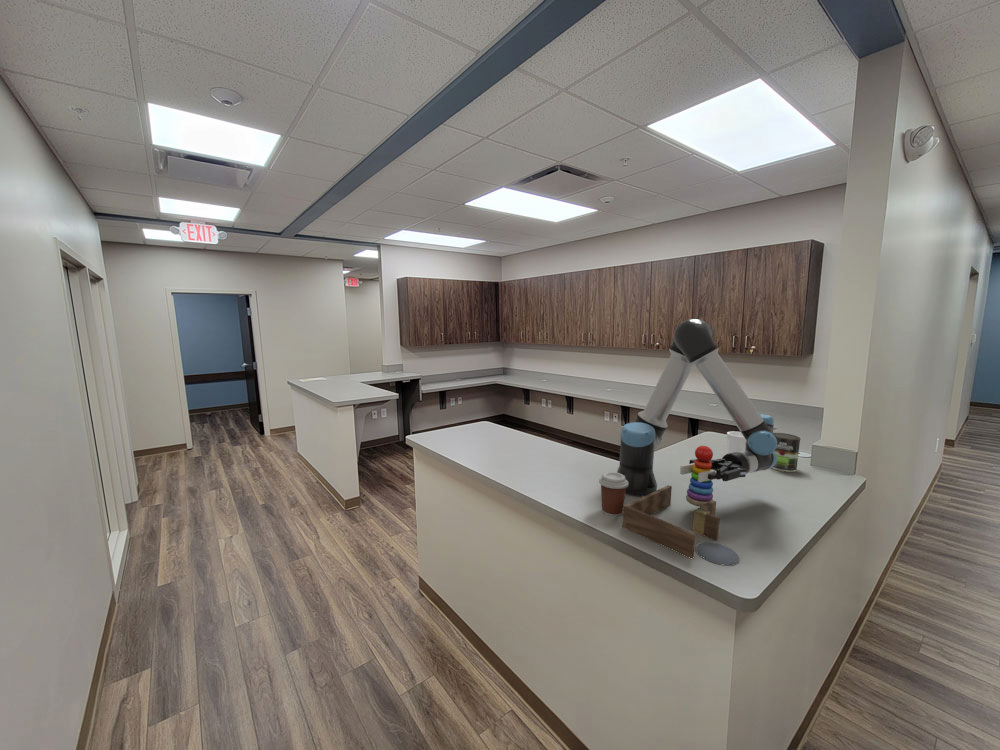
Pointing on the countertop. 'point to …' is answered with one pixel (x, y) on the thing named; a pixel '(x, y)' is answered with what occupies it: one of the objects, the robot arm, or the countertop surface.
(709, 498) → the stacking toy
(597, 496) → the countertop surface
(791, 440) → the coffee can
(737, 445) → the foam cup
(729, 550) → the pad
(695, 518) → the corner post
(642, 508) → the brown open angular frame
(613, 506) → the coffee cup
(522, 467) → the countertop surface
